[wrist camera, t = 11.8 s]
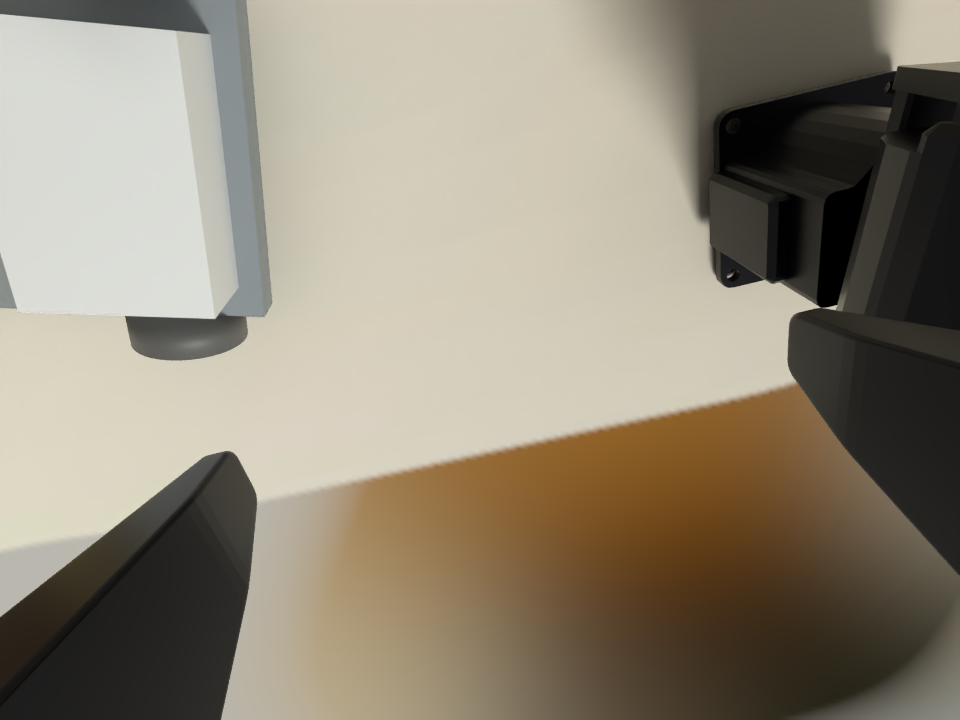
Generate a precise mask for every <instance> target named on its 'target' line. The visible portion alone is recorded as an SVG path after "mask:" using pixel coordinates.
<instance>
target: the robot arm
mask: <svg viewBox="0 0 960 720" xmlns="http://www.w3.org/2000/svg"><path fill="white" fill-rule="evenodd" d="M888 81H890V88H889V90H888V91H887V92H886V93H884V88H885V85H886V84H887V83H888ZM732 118H733V119H734V121H735V125H734V128H733V129H732V130H731V131H730V132H727V130H726V125H727V123H728V121H729V120H730V119H732ZM709 203H710V244H711V245H712V246H713V247H714V248H715V250H716V278H717V280H718V281H719V282H720V283H721V284H722V285H724V286H726V287H728V288H731V287H737V286H741V285H745V284H749V283H754V282H758V281H762V280H766V281H768V282H769V283H771V284H774V283H779V282H780V283H782V284H783V285H785V286H787V287H788V288H790V289H792V290H793V291H795V292H796V293H798V294H800V295H801V296H803V297H805V298H806V299H808V300H809V301H811V302H813V303H814V304H816V305H818V306H819V307H821V308H817V309H812V310H808V311H804V312H800V313H797V314H795V315H794V316H793V317H792V318H791V320H790V323H789V338H788V358H787V359H788V367H789V370H790V372H791V374H792V376H793V377H794V379H795V380H796V382H797V383H798V384H799V386H800V387H801V389H802V390H803V391H804V393H805V394H806V396H807V397H808V398H809V400H810V401H811V403H812V404H813V405H814V407H815V408H816V410H817V411H818V412H819V414H820V415H821V417H822V418H823V419H824V421H825V422H826V423H827V425H828V426H829V428H830V429H831V431H832V432H833V433H834V435H835V436H836V437H837V439H838V440H839V441H840V442H841V444H842V445H843V447H844V448H845V449H846V450H847V451H848V452H849V454H850V455H851V456H852V457H853V458H854V460H855V461H856V462H857V463H858V464H859V465H860V466H861V467H862V468H863V469H864V471H865V472H866V473H867V474H868V475H869V476H870V477H871V478H872V480H873V481H874V482H875V483H876V484H877V485H878V486H879V487H880V488H881V490H882V491H883V492H884V493H885V494H886V495H887V496H888V497H889V499H890V500H891V501H892V502H893V503H894V504H895V505H896V506H897V507H898V509H899V510H900V511H901V512H902V513H903V514H904V515H905V516H906V517H907V519H908V520H909V521H910V522H911V523H912V524H913V525H914V526H915V527H916V529H917V530H918V531H919V532H920V533H921V534H922V535H923V536H924V537H925V539H926V540H927V541H928V542H929V543H930V544H931V545H932V546H933V547H934V549H935V550H936V551H937V552H938V553H939V554H940V555H941V556H942V558H944V560H945V561H946V562H947V563H948V564H949V565H950V567H952V569H953V570H954V571H955V572H956V573H957V574H958V575H959V577H960V62H950V63H934V64H919V65H903V66H898V68H897V71H883V72H879V73H875V74H871V75H867V76H863V77H859V78H854V79H850V80H846V81H842V82H838V83H834V84H830V85H826V86H822V87H817V88H813V89H809V90H805V91H801V92H797V93H793V94H789V95H784V96H780V97H776V98H772V99H768V100H764V101H760V102H756V103H752V104H747V105H743V106H739V107H735V108H731V109H727V110H725V111H723V112H721V113H720V114H719V115H718V116H717V118H716V120H715V122H714V174H713V176H712V177H711V179H710V181H709ZM733 269H735V272H734V274H733V276H732V277H730V278H727V274H728V273H729V272H730V271H731V270H733ZM835 305H837V309H836V310H830V309H824V308H826V307H830V306H835ZM256 510H257V497H256V493H255V490H254V487H253V486H252V484H251V482H250V480H249V478H248V476H247V474H246V472H245V470H244V468H243V467H242V465H241V463H240V461H239V459H238V457H237V456H236V455H235V454H234V453H233V452H230V451H224V452H220V453H216V454H212V455H208V456H205V457H203V458H202V459H201V460H199V461H198V462H197V463H196V464H194V465H193V466H192V467H190V468H189V469H188V470H187V471H185V472H184V473H183V474H182V475H180V476H179V477H178V478H176V479H175V480H174V481H173V482H171V483H170V484H169V485H168V486H166V487H165V488H164V489H162V490H161V491H160V492H159V493H157V494H156V495H155V496H154V497H152V498H151V499H150V500H149V501H147V502H146V503H145V504H143V505H142V506H141V507H140V508H138V509H137V510H136V511H135V512H133V513H132V514H131V515H129V516H128V517H127V518H126V519H124V520H123V521H122V522H121V523H119V524H118V525H117V526H115V527H114V528H113V529H112V530H110V531H109V532H108V533H107V534H105V535H104V536H103V537H101V538H100V539H99V540H98V541H96V542H95V543H94V544H93V545H92V546H90V547H89V548H87V549H86V550H85V551H84V552H82V553H81V554H80V555H79V556H77V557H76V558H75V559H73V560H72V561H71V562H70V563H69V564H67V565H66V566H65V567H64V568H62V569H61V570H59V571H58V572H57V573H56V574H54V575H53V576H52V577H51V578H49V579H48V580H47V581H45V582H44V583H43V584H42V585H40V586H39V587H38V588H37V589H35V590H34V591H33V592H32V593H30V594H29V595H28V596H26V597H25V598H24V599H23V600H21V601H20V602H19V603H17V604H16V605H15V606H14V607H12V608H11V609H10V610H9V611H8V612H6V613H5V614H4V615H2V616H1V617H0V720H221V716H222V711H223V707H224V703H225V698H226V693H227V689H228V684H229V679H230V674H231V670H232V665H233V661H234V656H235V651H236V646H237V642H238V637H239V632H240V628H241V623H242V618H243V614H244V610H245V605H246V600H247V594H248V589H249V581H250V572H251V562H252V552H253V542H254V531H255V521H256Z"/></svg>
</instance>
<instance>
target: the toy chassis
mask: <svg viewBox="0 0 960 720" xmlns="http://www.w3.org/2000/svg"><path fill="white" fill-rule="evenodd" d="M271 304H272V295H271V283H270V272H269V260H268V248H267V237H266V225H265V213H264V202H263V190H262V178H261V167H260V155H259V144H258V132H257V120H256V109H255V97H254V85H253V74H252V62H251V50H250V39H249V27H248V15H247V4H246V0H0V308H16V309H17V310H18V312H24V313H54V314H84V315H113V316H125V318H126V323H127V327H128V332H129V337H130V341H131V346H132V348H133V349H134V350H135V351H136V352H138V353H139V354H141V355H144V356H147V357H150V358H155V359H161V360H191V359H199V358H205V357H210V356H214V355H217V354H221V353H223V352H226V351H228V350H231V349H233V348H235V347H236V346H238V345H239V344H241V343H242V342H243V341H244V340H245V339H246V337H247V334H248V330H247V321H246V316H248V317H265V315H266V313H267V312H268V310H269V308H270V306H271Z"/></svg>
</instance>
